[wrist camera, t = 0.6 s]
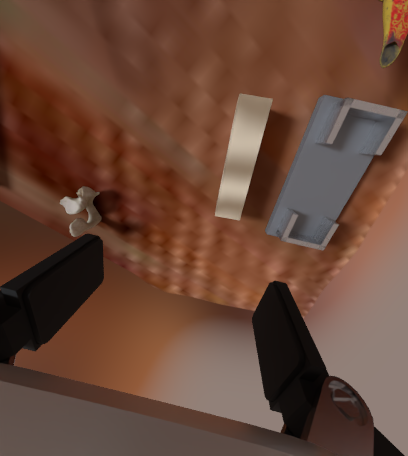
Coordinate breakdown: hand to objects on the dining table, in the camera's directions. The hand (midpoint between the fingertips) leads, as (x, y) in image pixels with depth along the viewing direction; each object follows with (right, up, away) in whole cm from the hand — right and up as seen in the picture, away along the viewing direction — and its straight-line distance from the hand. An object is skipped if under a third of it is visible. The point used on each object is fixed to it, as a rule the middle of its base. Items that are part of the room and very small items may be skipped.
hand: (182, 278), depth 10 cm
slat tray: (+20, +10, +19) cm, 29 cm away
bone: (-21, +8, +25) cm, 34 cm away
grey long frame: (+20, +10, +17) cm, 28 cm away
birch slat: (+7, +14, +19) cm, 24 cm away
